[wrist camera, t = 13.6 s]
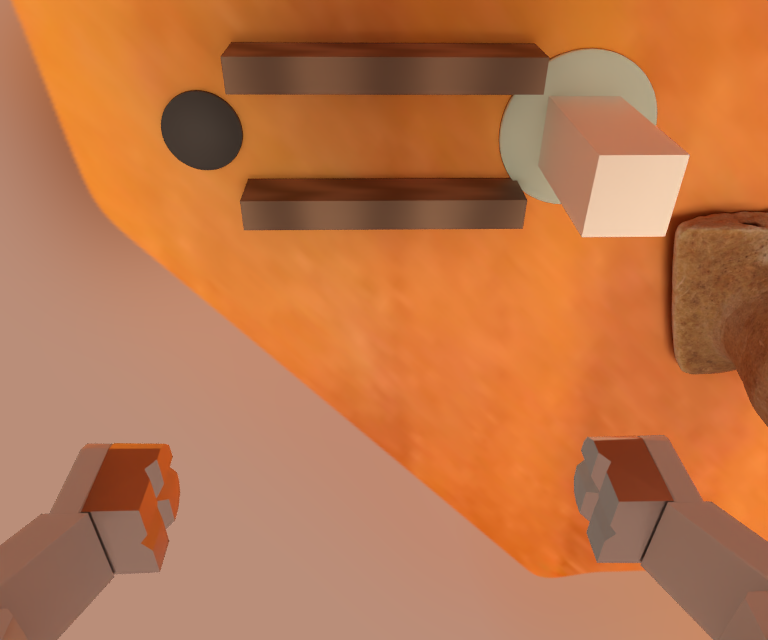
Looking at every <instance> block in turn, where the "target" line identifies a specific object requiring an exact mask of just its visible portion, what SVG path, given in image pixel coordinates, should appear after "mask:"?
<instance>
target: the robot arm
mask: <svg viewBox="0 0 768 640" xmlns="http://www.w3.org/2000/svg"><path fill="white" fill-rule="evenodd" d="M581 451H582V454H583V456H584V459H585V460H584V461H582V462H581V463H580V464H579V465H577V467H576V472H575V476H574V493H575V498H576V503H577V506H578V509H579V512H580V514H582V515H583V516H584V517H585V518H586V519H587V520H589V521H590V523H589V526H588V530H587V535H588V538H589V541H590V544H591V547H592V549H593V552H594V555H595V558H596V561H597V563H641V566H642V567H643V568H644V569H645V570H646V571H647V572H648V573H649V574H650V575H651V576H652V577H653V578H654V579H655V580H656V581H657V582H658V583H659V584H660V585H661V586H662V588H663V589H664V590H665V591H666V592H667V593H668V594H669V595H671V597H672V598H673V599H674V600H675V601H676V602H677V603H678V604H679V605H680V606H681V607H682V608H683V609H684V610H685V611H686V612H687V613H688V614H689V615H690V616H691V617H692V618H693V619H694V620H695V621H696V622H697V623H698V624H699V625H700V626H701V627H702V628H703V629H704V631H706V633H707V634H708V635H709V636H710V637H711V638H712V639H713V640H768V542H767V541H766V540H764V539H763V538H762V537H760V536H759V535H757V534H756V533H755V532H753V531H752V530H750V529H749V528H748V527H746V526H745V525H743V524H742V523H741V522H739V521H738V520H736V519H735V518H734V517H732V516H731V515H729V514H728V513H727V512H725V511H724V510H722V509H721V508H720V507H718V506H717V505H715V504H714V503H713V502H704V501H703V500H702V498H701V496H700V494H699V492H698V491H697V489H696V487H695V485H694V483H693V482H692V480H691V478H690V476H689V475H688V473H687V471H686V469H685V467H684V466H683V464H682V462H681V460H680V458H679V457H678V455H677V453H676V451H675V450H674V448H673V446H672V444H671V442H670V441H669V439H668V438H667V437H665V436H664V435H651V436H604V437H587V438H586V440H585V441H584V443H583V446H582V450H581ZM172 457H173V456H172V453H171V450H170V447H169V445H167V444H131V443H129V444H128V443H126V444H125V443H114V444H86V445H85V446H84V447H83V448H82V449H81V450H80V452H79V454H78V456H77V458H76V460H75V462H74V464H73V466H72V469H71V471H70V473H69V475H68V477H67V479H66V481H65V483H64V485H63V487H62V489H61V491H60V493H59V495H58V497H57V499H56V501H55V503H54V505H53V507H52V509H51V511H50V513H49V514H40V515H39V516H38V517H37V518H36V519H34V520H33V521H31V522H30V523H29V524H27V525H26V526H25V527H24V528H22V529H21V530H20V531H18V532H17V533H16V534H14V535H13V536H12V537H10V538H9V539H8V540H7V541H5V542H4V543H3V544H1V545H0V640H57V639H58V638H59V637H60V636H61V635H62V634H63V633H64V632H65V631H66V630H67V628H68V627H69V626H70V625H71V624H72V623H73V622H74V620H76V618H77V617H78V616H79V615H80V614H81V613H82V612H83V611H84V610H85V609H86V608H87V607H88V605H89V604H90V603H91V602H92V601H93V600H94V599H95V598H96V597H97V595H98V594H99V593H100V592H101V591H102V590H103V589H104V588H105V587H106V586H107V584H108V583H109V582H110V581H111V580H112V579H113V578H114V574H131V573H150V572H160V570H161V567H162V564H163V560H164V557H165V553H166V550H167V546H168V543H169V539H168V536H167V532H166V528H168V527H169V526H170V525H171V524H172V523H173V522H174V521H175V519H176V515H177V511H178V506H179V497H180V487H179V479H178V475H177V472H176V471H174V470H173V469H172V468H170V463H171V460H172Z"/></svg>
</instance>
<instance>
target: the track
mask: <svg viewBox="0 0 768 640" xmlns="http://www.w3.org/2000/svg"><path fill="white" fill-rule="evenodd" d="M221 63H222V71H223V78H224V85H225V93H226V94H346V95H544V89H545V83H546V76H547V70H548V63H549V57H548V56H547V55H546V54H545V53H544V52H543V51H542V50H541V49H540V48H539V47H538V46H537V45H536V44H511V43H254V42H231V44H230V45H229V46H228V48H227V49H226V50H225V51H224V53H223V54H222V55H221ZM240 204H241V212H242V219H243V226H244V230H368V229H523V224H524V217H525V211H526V204H527V199H526V197H525V195H524V193H523V191H522V189H521V187H520V185H519V183H518V181H517V180H515V181H513V180H512V179H511V178H400V179H248V181H247V184H246V187H245V189H244V192H243V195H242V198H241V200H240Z"/></svg>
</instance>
